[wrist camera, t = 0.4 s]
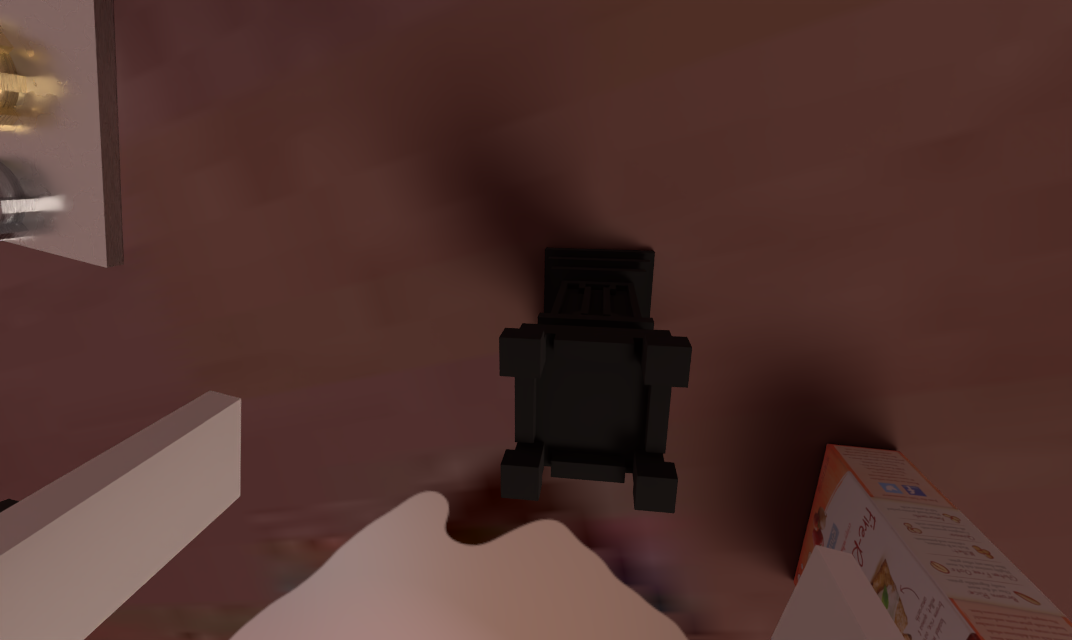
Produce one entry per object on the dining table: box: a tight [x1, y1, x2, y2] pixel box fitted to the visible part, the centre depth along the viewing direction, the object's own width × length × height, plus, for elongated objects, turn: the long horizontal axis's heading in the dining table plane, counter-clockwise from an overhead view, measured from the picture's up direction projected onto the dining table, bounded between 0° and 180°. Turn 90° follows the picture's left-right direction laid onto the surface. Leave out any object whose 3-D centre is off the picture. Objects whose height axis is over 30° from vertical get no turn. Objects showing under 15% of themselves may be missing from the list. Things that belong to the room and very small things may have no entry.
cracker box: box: [794, 444, 1072, 640], centre depth 32 cm, size 14×6×21 cm, turn 178°
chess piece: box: [499, 248, 692, 513], centre depth 29 cm, size 8×8×20 cm
